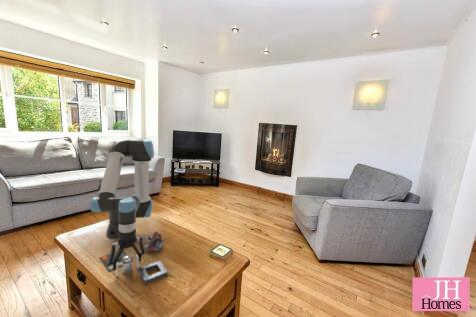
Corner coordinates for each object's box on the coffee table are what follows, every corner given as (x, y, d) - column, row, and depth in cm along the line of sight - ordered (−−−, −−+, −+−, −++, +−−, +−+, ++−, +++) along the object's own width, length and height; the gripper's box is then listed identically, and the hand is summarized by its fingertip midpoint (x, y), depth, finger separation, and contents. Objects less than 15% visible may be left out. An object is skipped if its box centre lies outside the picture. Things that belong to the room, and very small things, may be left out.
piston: (121, 270, 105) (121, 256, 104) (131, 267, 108) (131, 253, 107) (123, 275, 102) (123, 261, 101) (133, 272, 105) (133, 257, 104)
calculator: (121, 248, 122) (132, 260, 113) (121, 250, 122) (132, 262, 113) (99, 257, 113) (108, 270, 104) (99, 258, 113) (108, 272, 104)
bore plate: (138, 271, 106) (138, 267, 105) (160, 263, 113) (160, 260, 112) (144, 284, 97) (144, 280, 97) (167, 275, 104) (167, 271, 104)
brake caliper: (159, 252, 119) (148, 234, 119) (146, 259, 122) (135, 241, 122) (170, 242, 130) (160, 225, 130) (158, 248, 133) (148, 232, 133)
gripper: (102, 239, 92) (103, 284, 95) (152, 227, 106) (151, 267, 109) (100, 232, 98) (101, 275, 101) (147, 221, 111) (147, 259, 115)
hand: (127, 271), depth 105 cm, fingers open, 9 cm apart
